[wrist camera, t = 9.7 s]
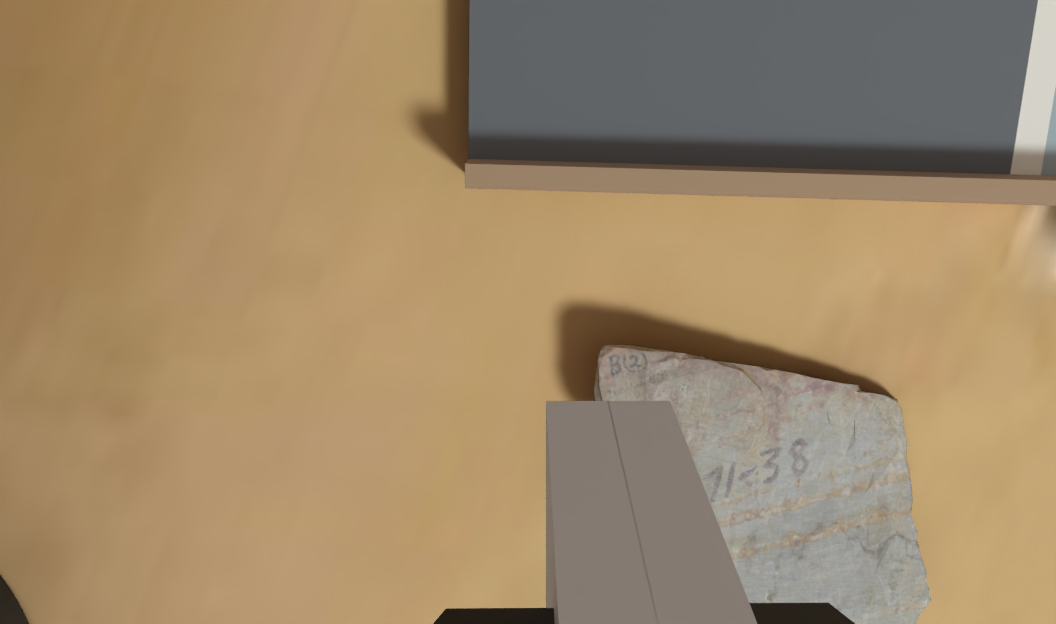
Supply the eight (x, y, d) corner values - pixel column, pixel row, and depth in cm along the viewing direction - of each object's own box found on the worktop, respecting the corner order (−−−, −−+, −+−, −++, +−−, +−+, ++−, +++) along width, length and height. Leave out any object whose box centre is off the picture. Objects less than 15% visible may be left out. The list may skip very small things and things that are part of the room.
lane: (471, 177, 35) (459, 197, 31) (473, -168, 31) (460, -195, 28) (1410, 205, 34) (1520, 228, 30) (1508, -148, 31) (1643, -173, 27)
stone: (579, 334, 37) (579, 356, 34) (865, 262, 35) (887, 279, 33) (673, 671, 40) (679, 713, 38) (935, 616, 39) (959, 656, 37)
